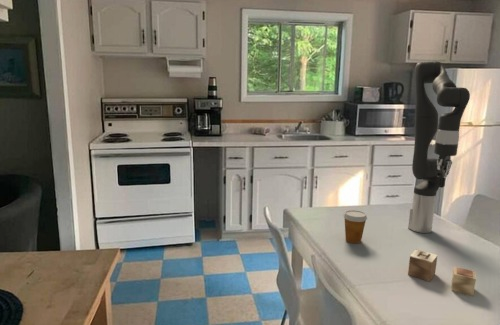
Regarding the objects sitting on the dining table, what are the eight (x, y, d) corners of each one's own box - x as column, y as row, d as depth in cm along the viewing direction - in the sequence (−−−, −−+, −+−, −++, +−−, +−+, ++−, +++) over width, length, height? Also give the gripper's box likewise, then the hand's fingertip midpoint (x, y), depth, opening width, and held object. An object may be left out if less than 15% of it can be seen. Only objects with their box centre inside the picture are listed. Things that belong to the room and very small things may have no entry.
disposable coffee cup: (366, 238, 160) (368, 211, 158) (363, 246, 152) (365, 218, 149) (344, 234, 164) (346, 208, 162) (339, 242, 155) (341, 214, 153)
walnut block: (416, 249, 133) (414, 267, 135) (410, 255, 128) (407, 275, 129) (437, 254, 129) (435, 274, 130) (432, 261, 124) (429, 281, 125)
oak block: (451, 291, 119) (454, 273, 118) (451, 283, 125) (454, 265, 123) (473, 296, 117) (475, 278, 116) (472, 287, 122) (475, 270, 121)
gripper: (441, 139, 146) (435, 182, 150) (430, 142, 137) (424, 188, 140) (462, 141, 141) (456, 185, 145) (452, 145, 132) (446, 192, 135)
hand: (440, 186), depth 143 cm, fingers closed
